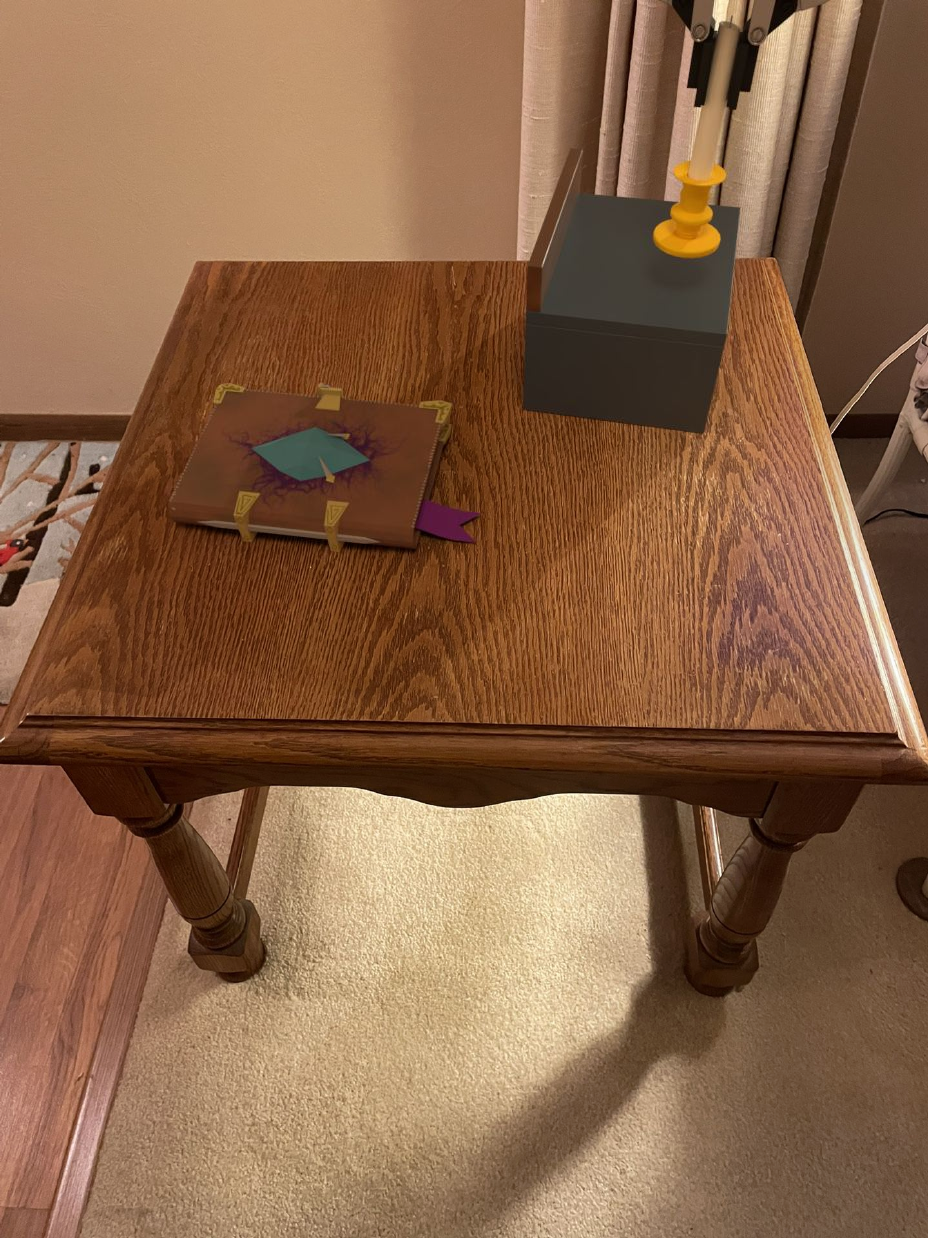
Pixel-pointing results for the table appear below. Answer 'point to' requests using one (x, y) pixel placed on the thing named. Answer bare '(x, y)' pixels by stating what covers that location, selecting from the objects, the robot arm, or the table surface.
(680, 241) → the candle
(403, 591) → the table surface
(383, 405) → the book
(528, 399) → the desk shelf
